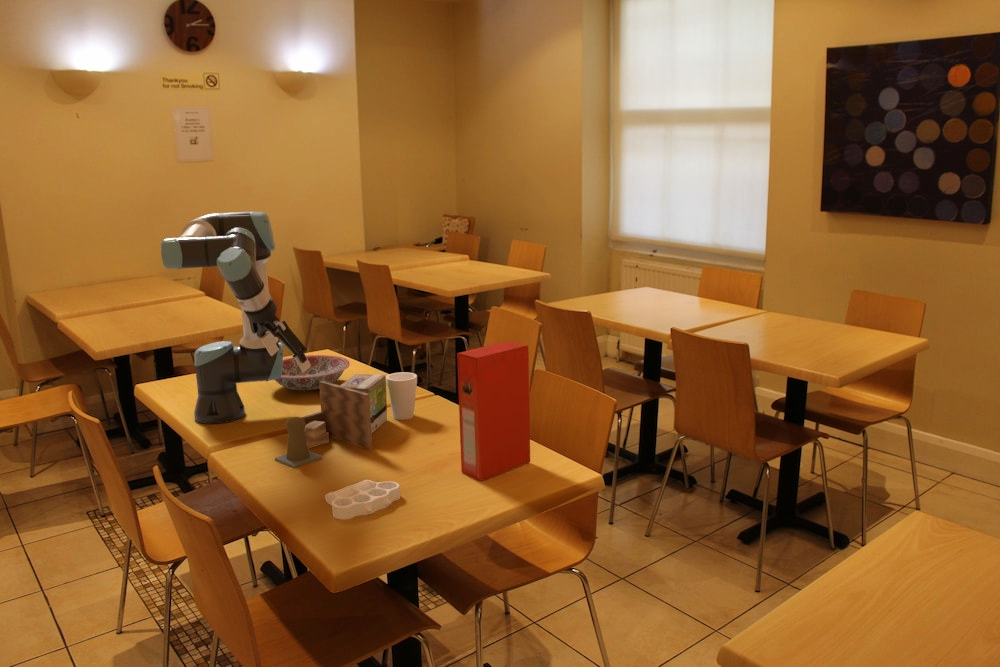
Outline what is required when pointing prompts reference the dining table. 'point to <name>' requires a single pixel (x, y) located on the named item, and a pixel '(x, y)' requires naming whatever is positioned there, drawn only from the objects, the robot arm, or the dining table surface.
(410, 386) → the foam cup
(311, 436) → the offcut upper
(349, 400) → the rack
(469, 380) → the file binder
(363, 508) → the white flat holed block
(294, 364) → the ceramic bowl
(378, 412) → the tea box
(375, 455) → the dining table surface
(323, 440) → the offcut lower
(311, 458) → the coaster
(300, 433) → the olive brown peg
